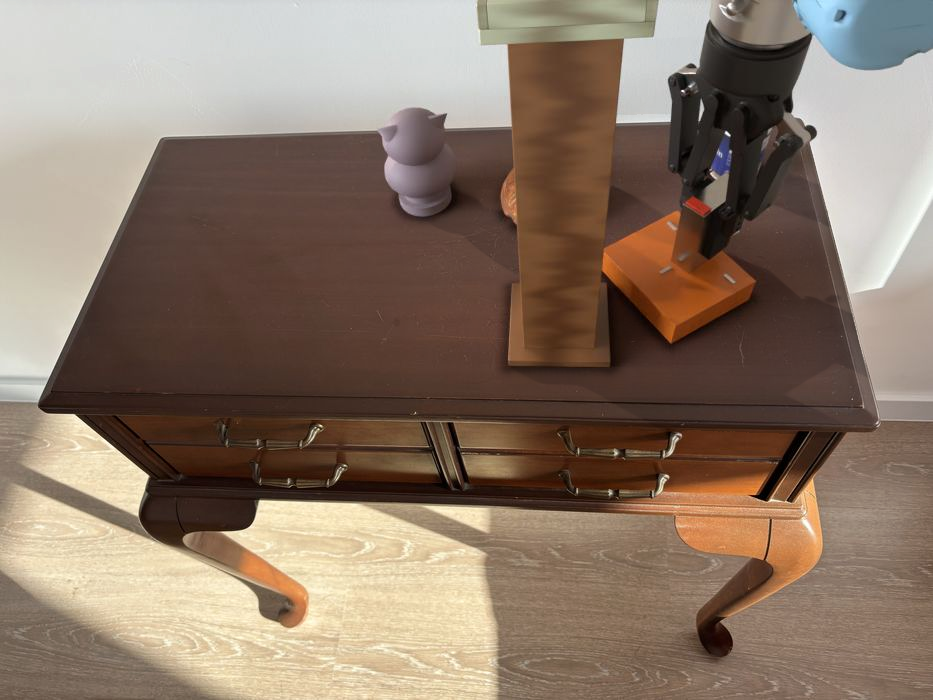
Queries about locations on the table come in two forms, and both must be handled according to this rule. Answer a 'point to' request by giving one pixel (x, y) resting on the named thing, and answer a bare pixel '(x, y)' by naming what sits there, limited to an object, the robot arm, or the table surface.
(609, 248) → the orange flat square block
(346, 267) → the table surface
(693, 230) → the steel brick red tip
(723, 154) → the pill bottle
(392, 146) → the cat figurine
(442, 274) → the table surface
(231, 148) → the table surface
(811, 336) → the table surface
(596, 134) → the brown wooden square column
